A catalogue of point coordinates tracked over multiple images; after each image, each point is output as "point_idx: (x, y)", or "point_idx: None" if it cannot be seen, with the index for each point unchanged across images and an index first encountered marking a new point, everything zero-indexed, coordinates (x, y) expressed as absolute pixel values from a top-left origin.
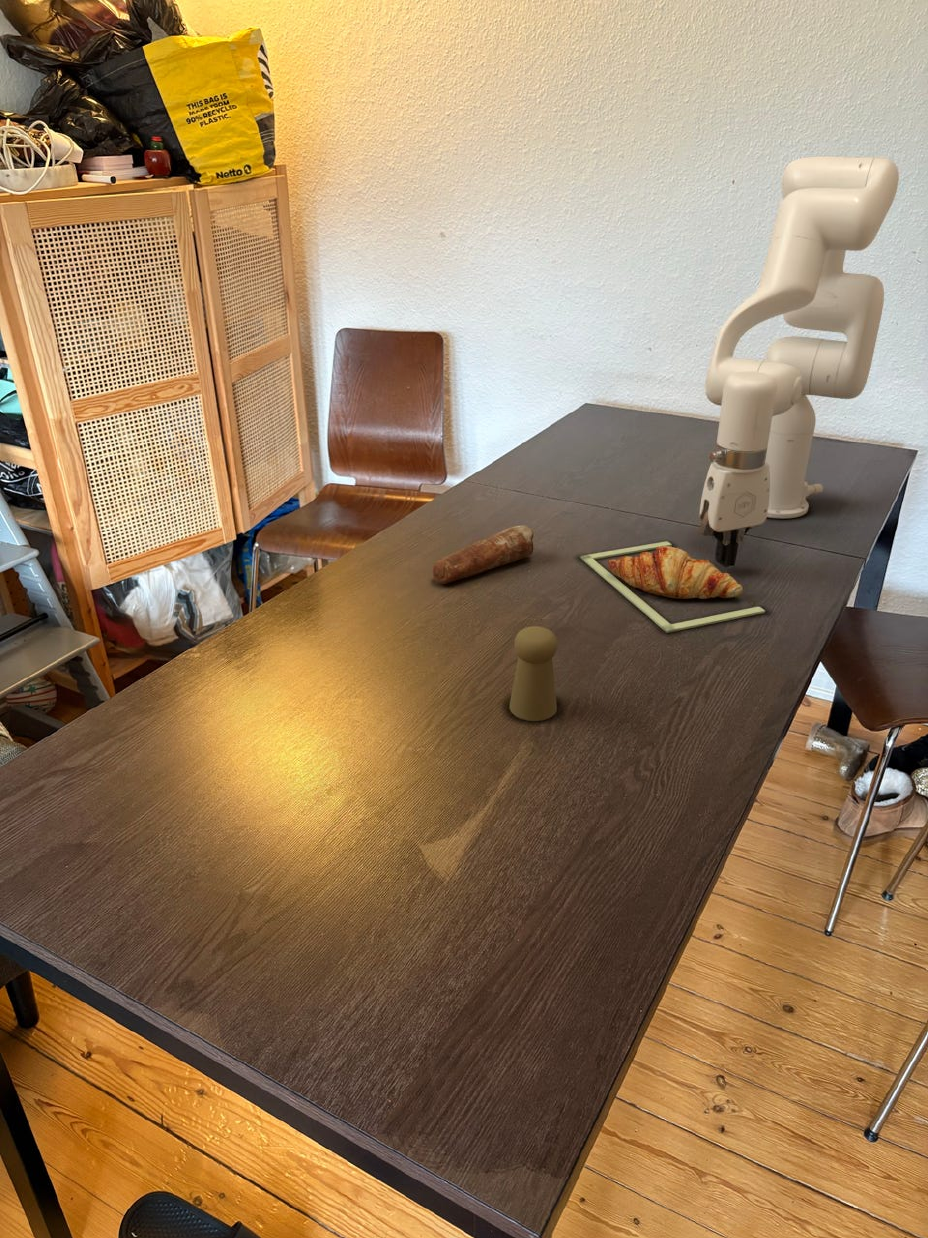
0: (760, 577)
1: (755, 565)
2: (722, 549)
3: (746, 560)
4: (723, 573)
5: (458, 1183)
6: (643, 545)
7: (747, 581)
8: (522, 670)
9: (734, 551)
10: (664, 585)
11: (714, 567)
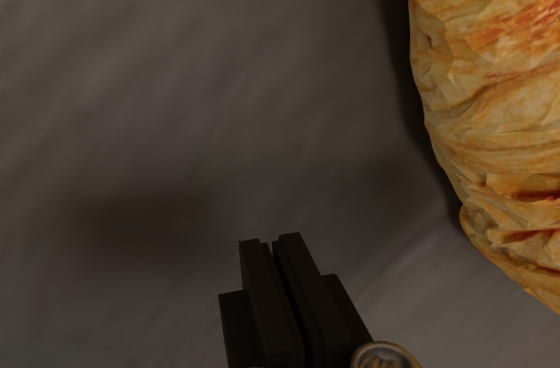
0: (74, 154)
1: (36, 292)
2: (362, 327)
3: (64, 345)
4: (553, 12)
5: None
6: None
7: (184, 124)
8: None
9: (278, 303)
10: None
11: (552, 115)
